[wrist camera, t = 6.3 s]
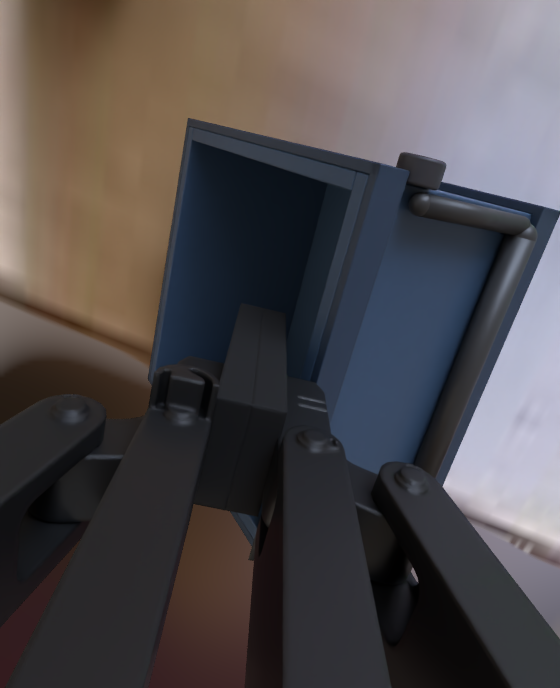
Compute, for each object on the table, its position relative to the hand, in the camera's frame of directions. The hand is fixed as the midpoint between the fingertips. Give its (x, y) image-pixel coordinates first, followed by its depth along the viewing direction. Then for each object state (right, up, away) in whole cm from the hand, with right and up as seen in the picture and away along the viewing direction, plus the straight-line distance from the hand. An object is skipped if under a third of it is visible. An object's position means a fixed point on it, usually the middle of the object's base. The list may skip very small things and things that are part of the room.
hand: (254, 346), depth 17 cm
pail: (-1, +4, +9) cm, 10 cm away
